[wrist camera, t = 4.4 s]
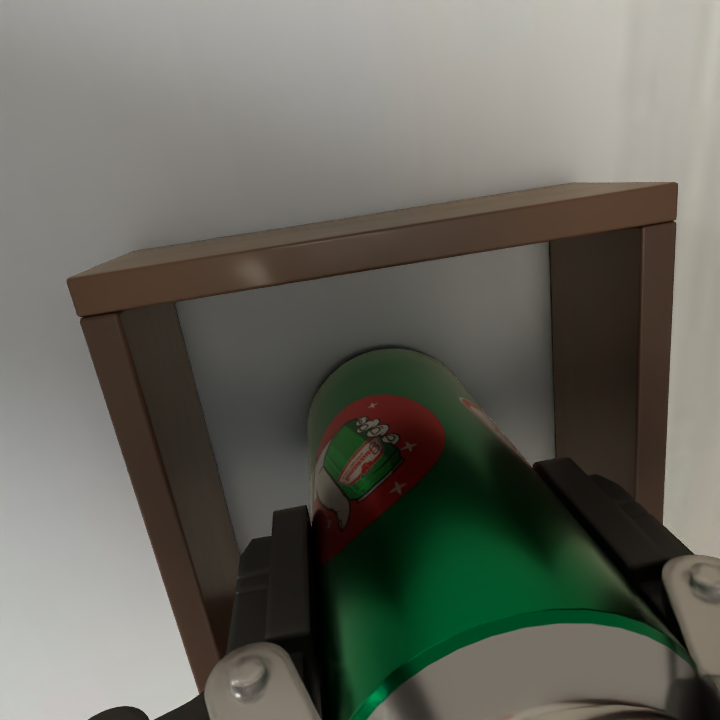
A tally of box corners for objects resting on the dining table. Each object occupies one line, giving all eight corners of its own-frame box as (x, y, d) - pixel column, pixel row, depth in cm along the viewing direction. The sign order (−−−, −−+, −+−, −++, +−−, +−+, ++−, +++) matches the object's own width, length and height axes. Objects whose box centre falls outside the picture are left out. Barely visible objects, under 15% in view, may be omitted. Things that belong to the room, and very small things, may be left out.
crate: (231, 614, 19) (212, 740, 15) (130, 251, 15) (63, 278, 10) (579, 545, 20) (658, 645, 15) (574, 182, 16) (679, 181, 11)
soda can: (468, 475, 18) (761, 961, 7) (318, 501, 18) (363, 1060, 6) (459, 331, 17) (820, 651, 5) (294, 356, 16) (294, 760, 5)
